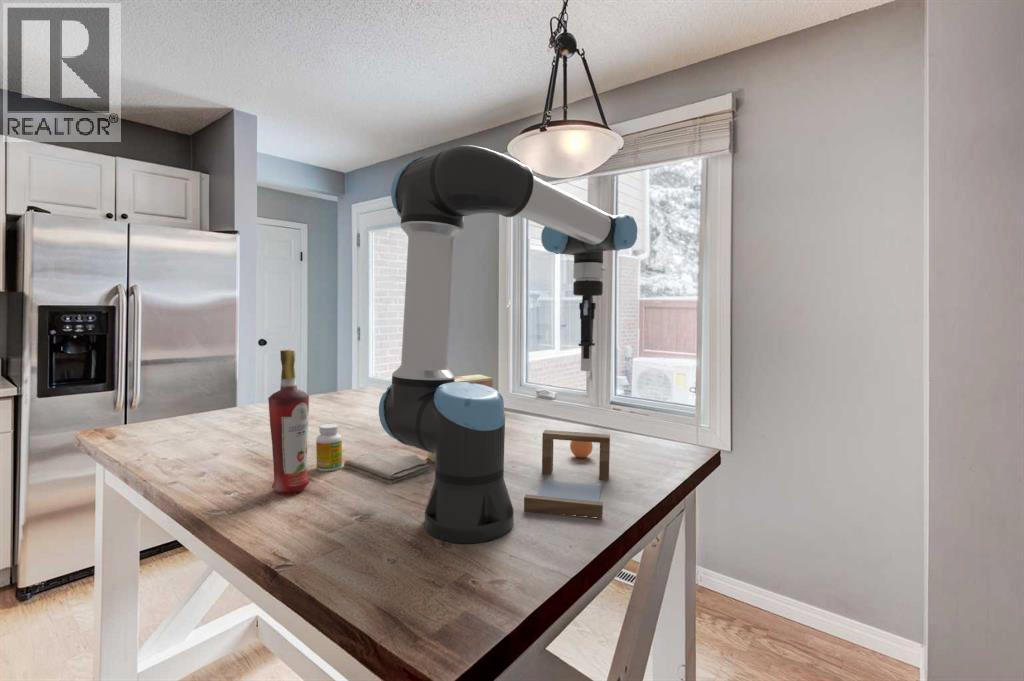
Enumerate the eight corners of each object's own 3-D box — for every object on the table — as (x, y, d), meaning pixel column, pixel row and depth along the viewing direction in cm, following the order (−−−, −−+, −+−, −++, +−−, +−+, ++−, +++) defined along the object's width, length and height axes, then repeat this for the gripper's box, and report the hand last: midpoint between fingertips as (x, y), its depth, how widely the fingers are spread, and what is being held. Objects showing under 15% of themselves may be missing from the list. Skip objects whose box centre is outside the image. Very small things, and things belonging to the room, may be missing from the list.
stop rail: (602, 519, 86) (602, 505, 86) (523, 510, 90) (524, 497, 90) (602, 515, 88) (602, 502, 88) (525, 507, 91) (525, 494, 91)
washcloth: (393, 487, 102) (392, 473, 102) (341, 470, 113) (341, 456, 112) (434, 472, 111) (434, 459, 111) (383, 457, 122) (383, 445, 122)
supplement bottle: (333, 472, 109) (332, 429, 108) (311, 470, 110) (310, 427, 109) (346, 465, 114) (346, 423, 113) (325, 463, 115) (325, 422, 115)
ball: (591, 461, 119) (592, 439, 118) (568, 459, 120) (569, 437, 119) (593, 454, 124) (593, 433, 123) (571, 453, 125) (571, 431, 125)
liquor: (294, 481, 103) (291, 348, 101) (318, 487, 100) (316, 350, 98) (262, 493, 97) (258, 351, 95) (287, 500, 94) (284, 353, 91)
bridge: (608, 479, 106) (609, 437, 105) (541, 473, 109) (542, 433, 109) (609, 475, 109) (610, 434, 108) (544, 469, 112) (544, 429, 112)
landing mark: (597, 509, 91) (597, 508, 91) (533, 502, 94) (533, 501, 94) (601, 486, 102) (601, 485, 102) (544, 480, 105) (544, 479, 105)
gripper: (601, 278, 121) (599, 374, 122) (604, 281, 133) (602, 368, 135) (570, 279, 122) (568, 373, 124) (576, 281, 135) (574, 367, 137)
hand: (586, 370), depth 130 cm, fingers closed
